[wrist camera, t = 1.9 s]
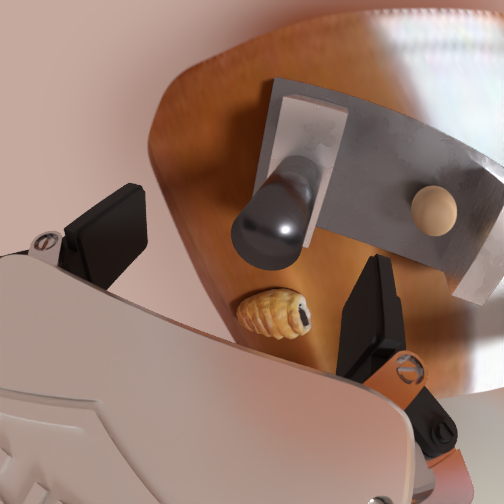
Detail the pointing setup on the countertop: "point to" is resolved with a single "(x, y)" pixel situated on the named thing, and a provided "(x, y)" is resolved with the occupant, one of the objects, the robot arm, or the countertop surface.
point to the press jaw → (291, 184)
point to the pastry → (275, 314)
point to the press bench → (406, 189)
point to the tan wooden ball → (434, 210)
